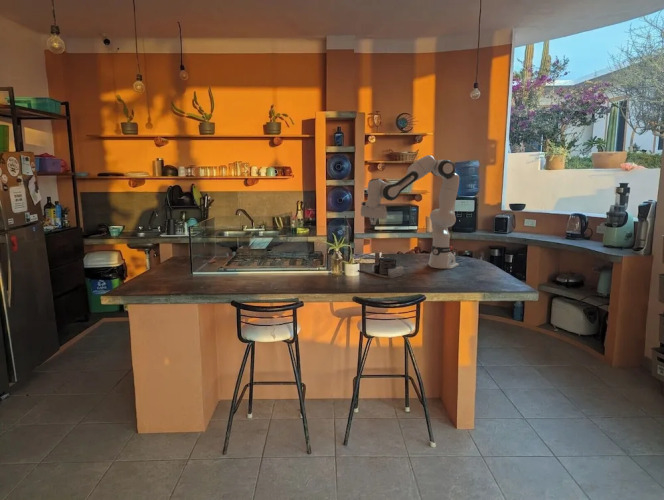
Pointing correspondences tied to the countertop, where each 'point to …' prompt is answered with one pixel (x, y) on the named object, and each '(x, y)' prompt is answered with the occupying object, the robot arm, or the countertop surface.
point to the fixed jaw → (389, 272)
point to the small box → (386, 265)
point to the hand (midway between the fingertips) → (373, 224)
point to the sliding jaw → (376, 264)
